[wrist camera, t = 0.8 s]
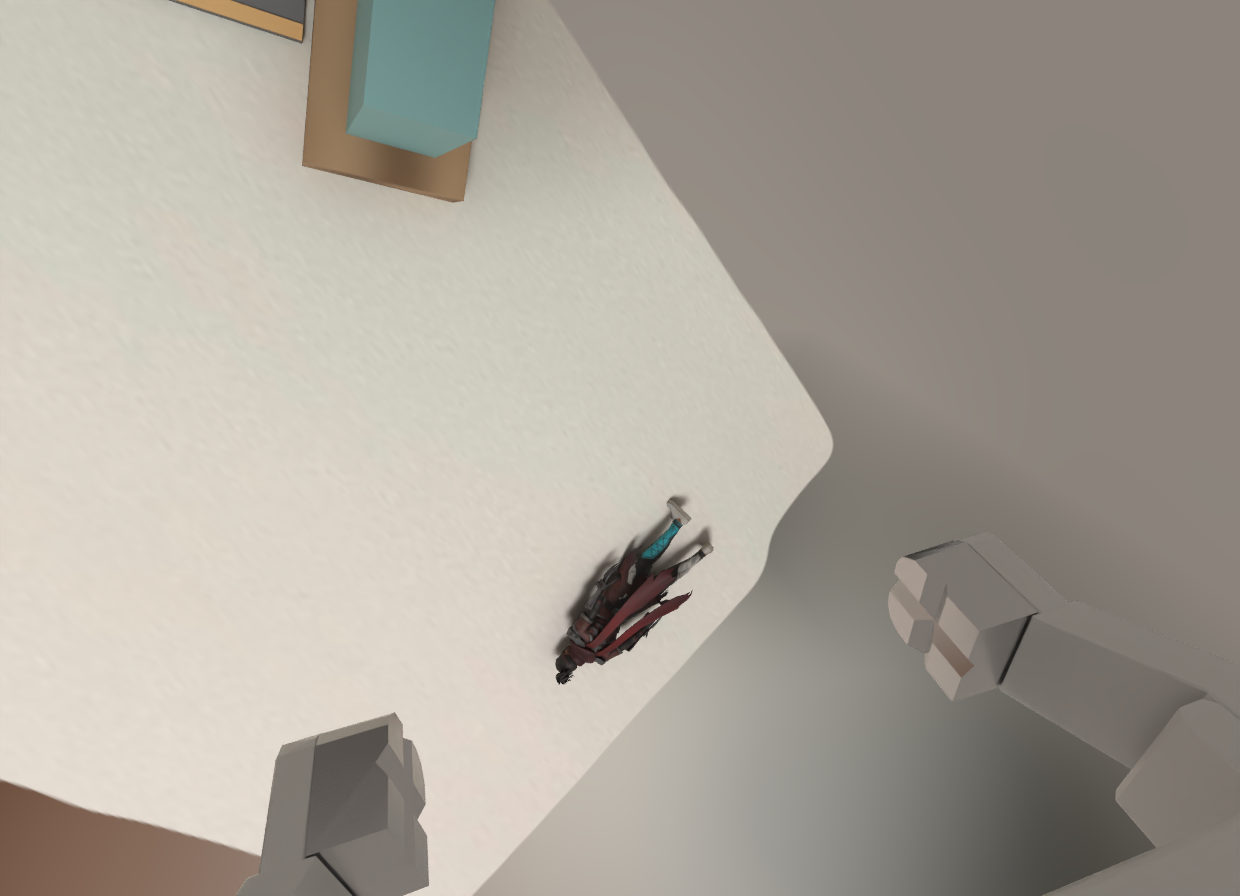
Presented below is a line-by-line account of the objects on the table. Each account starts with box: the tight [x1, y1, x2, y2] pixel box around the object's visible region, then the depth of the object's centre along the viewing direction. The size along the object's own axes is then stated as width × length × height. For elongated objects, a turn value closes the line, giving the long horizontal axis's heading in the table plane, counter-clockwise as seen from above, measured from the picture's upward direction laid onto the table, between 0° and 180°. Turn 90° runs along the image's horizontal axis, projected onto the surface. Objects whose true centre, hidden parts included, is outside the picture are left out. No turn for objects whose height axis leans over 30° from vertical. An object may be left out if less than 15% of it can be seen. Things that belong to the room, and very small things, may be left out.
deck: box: [302, 0, 471, 202], centre depth 38 cm, size 9×11×3 cm
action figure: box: [556, 500, 713, 684], centre depth 56 cm, size 8×6×18 cm
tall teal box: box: [346, 0, 495, 158], centre depth 33 cm, size 5×7×10 cm
